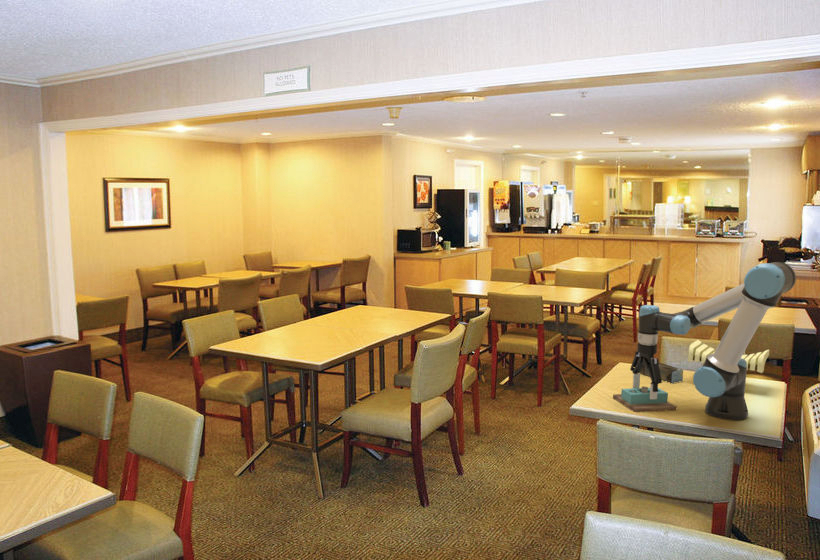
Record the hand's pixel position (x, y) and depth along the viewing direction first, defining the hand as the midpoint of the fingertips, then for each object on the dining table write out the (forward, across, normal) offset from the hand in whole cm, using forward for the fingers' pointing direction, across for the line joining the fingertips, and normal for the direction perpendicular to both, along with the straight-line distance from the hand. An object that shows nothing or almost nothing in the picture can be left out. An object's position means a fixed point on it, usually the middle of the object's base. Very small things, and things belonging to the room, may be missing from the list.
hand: (644, 393), depth 262 cm
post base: (+4, 0, 0) cm, 4 cm away
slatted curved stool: (+4, -19, +51) cm, 55 cm away
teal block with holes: (+3, 0, 0) cm, 3 cm away
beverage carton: (+5, -35, +29) cm, 46 cm away
